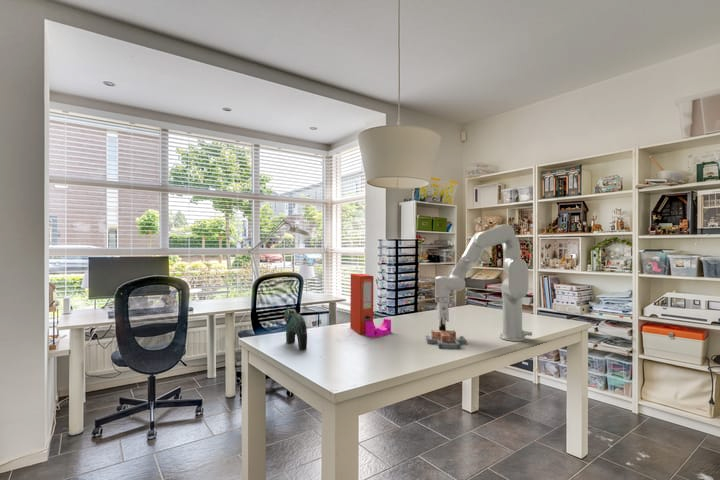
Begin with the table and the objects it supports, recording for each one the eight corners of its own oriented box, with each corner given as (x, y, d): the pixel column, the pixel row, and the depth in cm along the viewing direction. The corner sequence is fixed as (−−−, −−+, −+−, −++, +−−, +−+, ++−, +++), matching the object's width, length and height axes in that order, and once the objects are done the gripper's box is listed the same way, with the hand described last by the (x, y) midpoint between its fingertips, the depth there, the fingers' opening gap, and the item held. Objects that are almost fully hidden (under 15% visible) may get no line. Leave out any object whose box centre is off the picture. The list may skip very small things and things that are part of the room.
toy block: (372, 337, 197) (372, 323, 197) (365, 335, 202) (365, 321, 202) (394, 333, 206) (393, 320, 206) (386, 331, 211) (386, 318, 211)
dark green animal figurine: (282, 342, 189) (282, 302, 189) (294, 340, 193) (294, 301, 193) (298, 351, 172) (298, 308, 172) (311, 349, 176) (311, 307, 176)
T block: (454, 338, 195) (454, 330, 195) (458, 344, 183) (458, 336, 183) (431, 337, 196) (431, 330, 196) (434, 344, 184) (434, 335, 184)
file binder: (363, 327, 222) (363, 273, 222) (373, 333, 205) (373, 275, 206) (350, 328, 219) (350, 273, 219) (359, 334, 203) (359, 276, 203)
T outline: (462, 339, 192) (462, 335, 192) (470, 348, 175) (470, 344, 176) (425, 339, 193) (425, 335, 193) (429, 348, 177) (429, 344, 177)
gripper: (451, 301, 190) (451, 337, 190) (447, 297, 205) (447, 330, 205) (437, 301, 191) (437, 337, 190) (433, 297, 205) (433, 330, 205)
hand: (442, 333), depth 198 cm, fingers closed
